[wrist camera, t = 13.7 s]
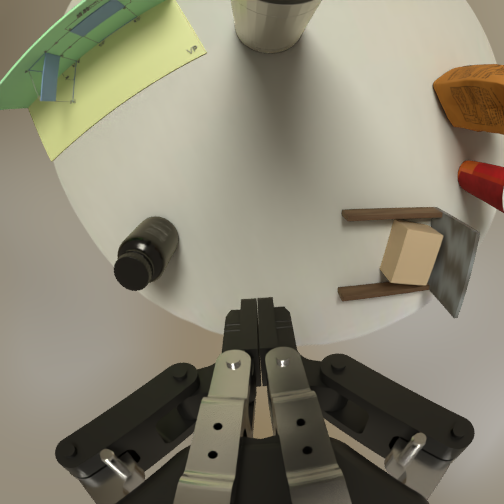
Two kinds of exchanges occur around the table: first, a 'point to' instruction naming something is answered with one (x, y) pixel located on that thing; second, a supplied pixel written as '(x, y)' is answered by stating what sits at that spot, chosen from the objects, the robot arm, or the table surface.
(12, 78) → the display stand
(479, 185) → the paper cup
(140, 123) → the table surface
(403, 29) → the table surface
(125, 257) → the supplement bottle
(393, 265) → the carton
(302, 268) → the table surface
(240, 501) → the robot arm
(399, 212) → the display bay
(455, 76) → the coffee package
